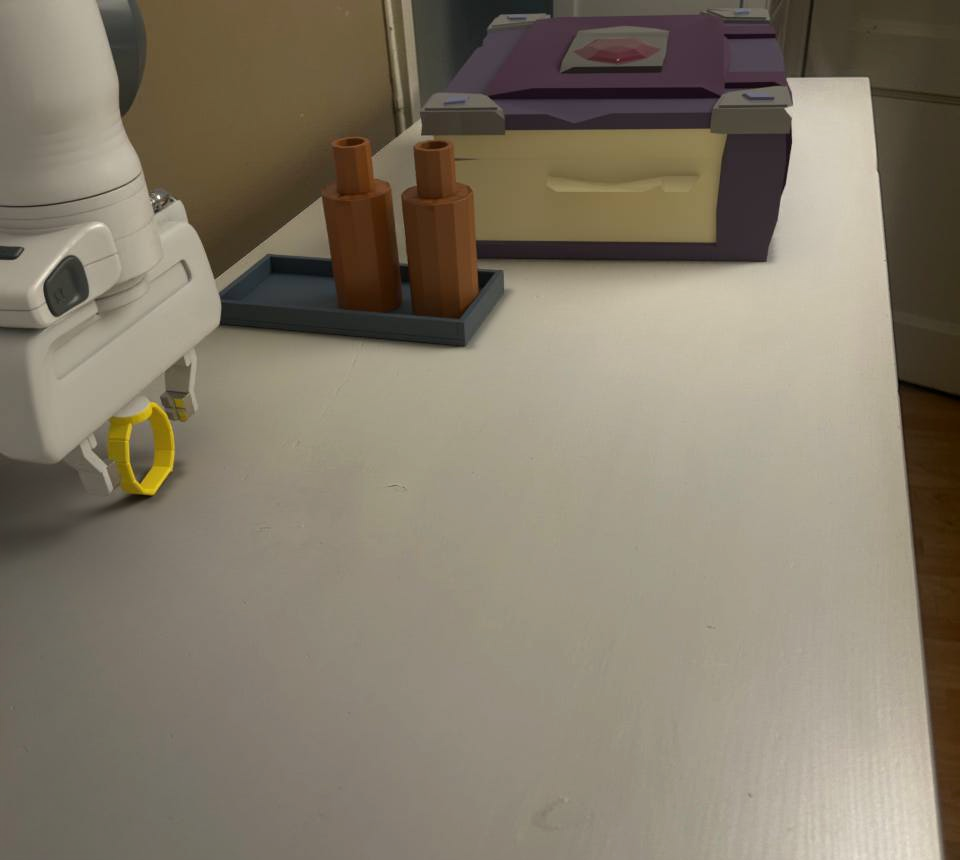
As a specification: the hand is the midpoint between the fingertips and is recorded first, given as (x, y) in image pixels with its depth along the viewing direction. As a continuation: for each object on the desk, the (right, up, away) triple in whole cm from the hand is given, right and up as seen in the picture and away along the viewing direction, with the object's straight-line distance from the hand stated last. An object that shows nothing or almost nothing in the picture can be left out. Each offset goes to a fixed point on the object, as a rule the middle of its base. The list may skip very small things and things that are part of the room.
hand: (146, 451), depth 64 cm
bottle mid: (+12, +17, +22) cm, 30 cm away
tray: (+11, +17, +22) cm, 30 cm away
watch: (0, -2, +2) cm, 3 cm away
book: (+37, +37, +44) cm, 68 cm away
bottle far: (+19, +16, +20) cm, 32 cm away
